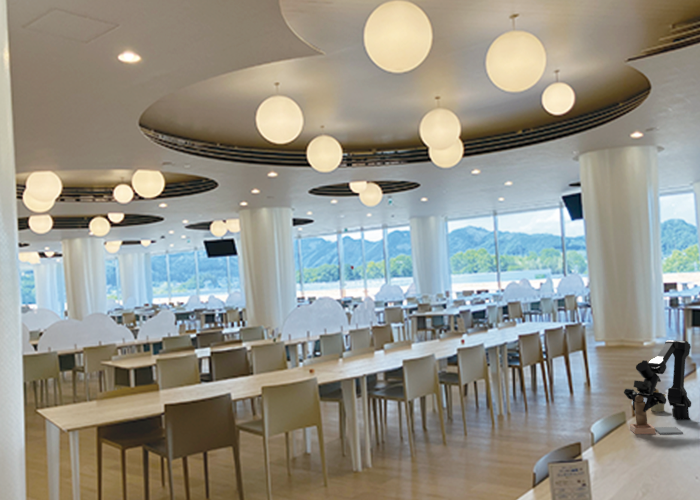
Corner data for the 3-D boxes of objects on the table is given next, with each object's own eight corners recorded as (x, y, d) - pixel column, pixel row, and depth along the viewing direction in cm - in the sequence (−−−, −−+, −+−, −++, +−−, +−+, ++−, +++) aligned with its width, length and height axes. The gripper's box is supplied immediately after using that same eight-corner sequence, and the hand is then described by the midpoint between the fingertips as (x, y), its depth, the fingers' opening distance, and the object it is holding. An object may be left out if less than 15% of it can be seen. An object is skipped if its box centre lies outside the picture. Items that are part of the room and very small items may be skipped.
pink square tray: (649, 428, 287) (649, 423, 287) (655, 433, 279) (655, 428, 279) (629, 429, 289) (629, 423, 289) (635, 433, 280) (634, 428, 280)
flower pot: (663, 408, 326) (661, 392, 326) (670, 412, 316) (669, 395, 317) (645, 409, 326) (643, 393, 327) (652, 413, 317) (650, 396, 318)
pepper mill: (645, 422, 286) (643, 393, 287) (648, 425, 281) (645, 396, 282) (635, 423, 287) (632, 394, 288) (637, 425, 282) (635, 396, 283)
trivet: (675, 428, 285) (675, 426, 285) (683, 434, 275) (683, 432, 275) (653, 428, 287) (653, 427, 287) (660, 434, 277) (659, 432, 277)
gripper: (623, 372, 295) (612, 398, 289) (660, 375, 280) (649, 403, 273) (634, 385, 299) (623, 411, 292) (671, 389, 283) (660, 417, 277)
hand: (638, 410), depth 284 cm, fingers closed on pepper mill, 5 cm apart
